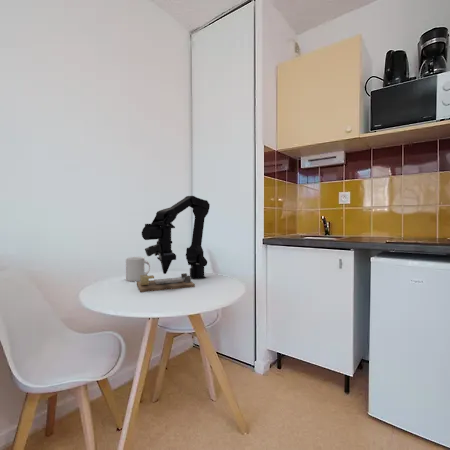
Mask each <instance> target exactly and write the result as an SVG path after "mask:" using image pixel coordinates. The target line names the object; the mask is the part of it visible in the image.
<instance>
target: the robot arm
mask: <svg viewBox="0 0 450 450" xmlns="http://www.w3.org/2000/svg"><path fill="white" fill-rule="evenodd" d="M210 205H211V204H210V203H209V201H208V200H207V199H202V198H199V197H197V196H195V195H186V196H185V197H184V198H182V199H181V200H179V201H178V202H176V203H175V204H172V206H170V207H167V208H163V209H161V210H158V211H157V212H156V213H155V214H156V215H155V217H154V218H153V220H152V222H151V223H144V227H142V231H141V237H142V238H143V240H145V241H150V240H153V241H154V240H156V244H153V245H149V246H148V247H146V248H144V251H145V254H146V257H151V256H152V255H154V256H156V257H157V256H158V257H157V260H158V261H159V262H160V264H161V269H162V274H164V275H165V274H166V275H167V273H168V270H169V268H170V266H171V265H172V262H173V261H175V260H177V254H175V253H174V252H173V250H172V244H173V241H172V229H176V226H175V225H173V223H174V221H175V220H176V219H177V216H178V215H179V214H181V213H182V212H184V211H185V210H186V209H188V208H189V207H190V208H192V213H193V216H194V220H193V221H194V223H193V229H192V236H191V244H190V246H189V247H186V253H185V255H184V256H185V258H186V261H187V265H188V266H190V268H189V276H191V279H193V280H194V279H195V280H196V279H206V276H205V267H206V266H207V264H208V260H207V259H206V257H205V256H204V248H203V247H202V242H203V235H204V226H205V225H204V224H205V218H206V216H208V214H209V211H210Z"/></svg>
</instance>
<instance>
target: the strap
mask: <svg viewBox="0 0 450 450" xmlns="http://www.w3.org/2000/svg"><path fill="white" fill-rule="evenodd" d="M175 282H185V277H181V276H180V277H169V278H157V279H155V278H154V283H155V284H164V283H175Z"/></svg>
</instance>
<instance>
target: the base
mask: <svg viewBox="0 0 450 450" xmlns="http://www.w3.org/2000/svg"><path fill="white" fill-rule="evenodd" d="M180 277H185V282H175V283H164V284H155V283H154V280H155V279H154V280H149V285H141V284H140V281H136V285H137V286H136V287H137V288H138V291H139V293H148V292H157V291H158V292H159V291H165V290H166V291H167V290H176V289H187V288H195V287H196V285H195V283H193V282H192V281H191V280H192V278H191V276H190V275H188V273H187V272H186V273H181V276H180Z"/></svg>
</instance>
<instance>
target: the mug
mask: <svg viewBox="0 0 450 450" xmlns="http://www.w3.org/2000/svg"><path fill="white" fill-rule="evenodd" d="M145 264H147V265H148V270H147V271H145ZM150 269H151V264H150V262H149V261H148V260H146V259H145V257H143V256H130V257H125V279H126V281H127V282H131V281H136V282H139V281H140V275H148V274H149V273H150Z"/></svg>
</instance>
